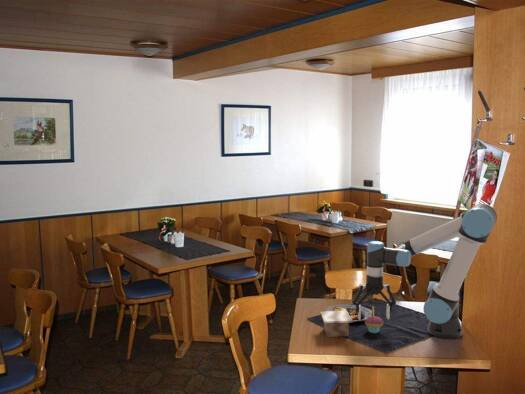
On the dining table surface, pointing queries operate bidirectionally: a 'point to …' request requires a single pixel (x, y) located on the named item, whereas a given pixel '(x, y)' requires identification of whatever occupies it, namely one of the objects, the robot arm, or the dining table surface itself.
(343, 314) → the white box
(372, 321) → the cupcake
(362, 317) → the food plate
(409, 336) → the dining table surface
